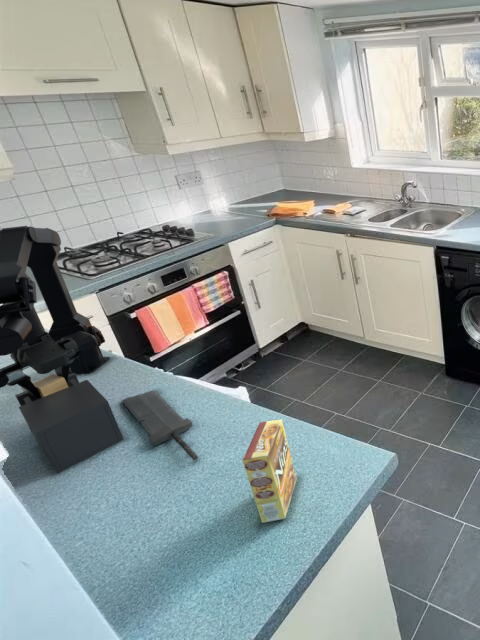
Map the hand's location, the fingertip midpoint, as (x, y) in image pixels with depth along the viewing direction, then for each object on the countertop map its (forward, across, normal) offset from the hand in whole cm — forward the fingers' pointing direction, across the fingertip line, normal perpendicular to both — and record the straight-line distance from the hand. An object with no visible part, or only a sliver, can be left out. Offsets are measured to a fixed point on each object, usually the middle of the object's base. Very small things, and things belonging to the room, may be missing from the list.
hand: (52, 392), depth 93 cm
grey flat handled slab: (+9, +8, -21) cm, 24 cm away
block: (+1, 0, 0) cm, 1 cm away
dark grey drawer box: (+9, -2, -9) cm, 13 cm away
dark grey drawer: (+8, 0, +1) cm, 8 cm away
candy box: (+9, +4, -60) cm, 61 cm away
